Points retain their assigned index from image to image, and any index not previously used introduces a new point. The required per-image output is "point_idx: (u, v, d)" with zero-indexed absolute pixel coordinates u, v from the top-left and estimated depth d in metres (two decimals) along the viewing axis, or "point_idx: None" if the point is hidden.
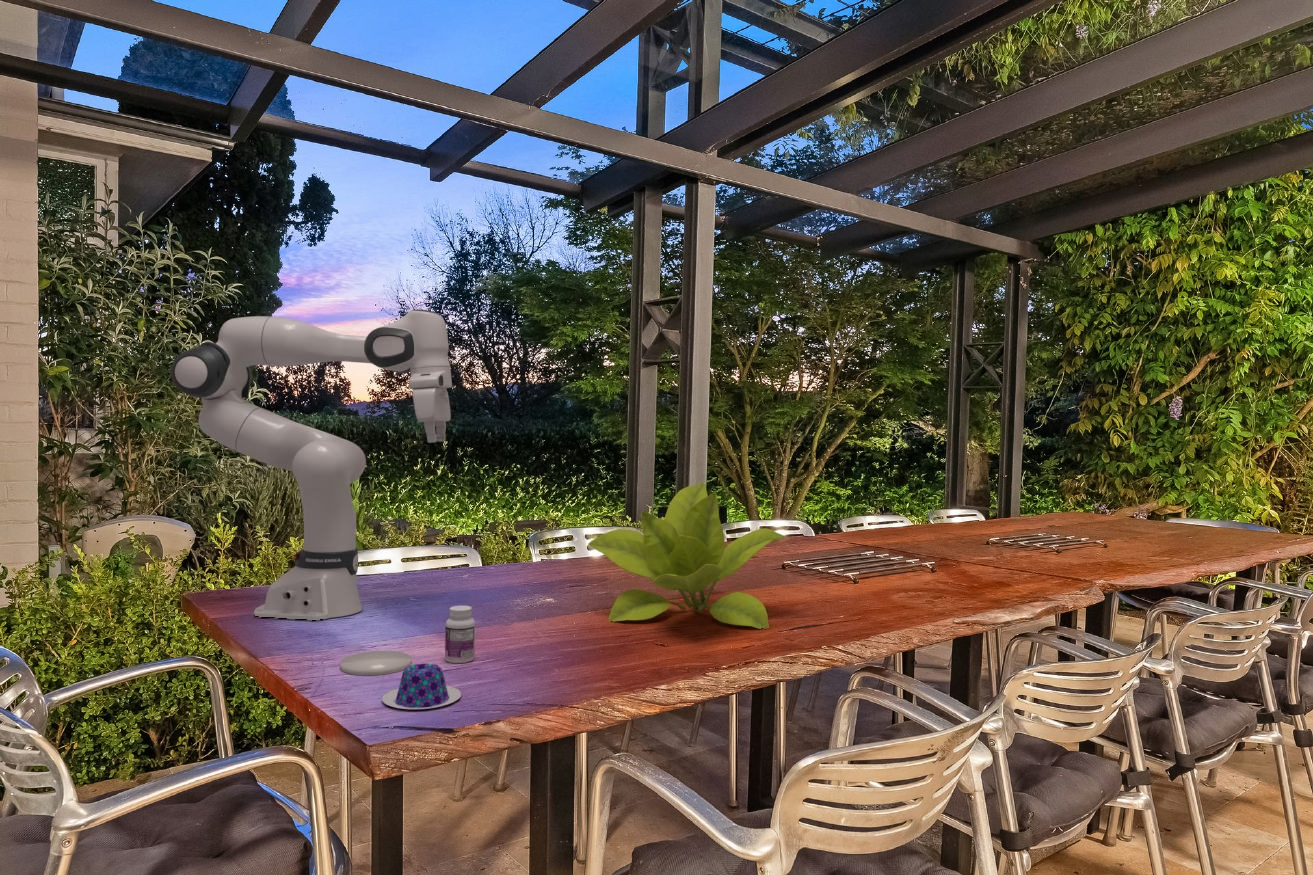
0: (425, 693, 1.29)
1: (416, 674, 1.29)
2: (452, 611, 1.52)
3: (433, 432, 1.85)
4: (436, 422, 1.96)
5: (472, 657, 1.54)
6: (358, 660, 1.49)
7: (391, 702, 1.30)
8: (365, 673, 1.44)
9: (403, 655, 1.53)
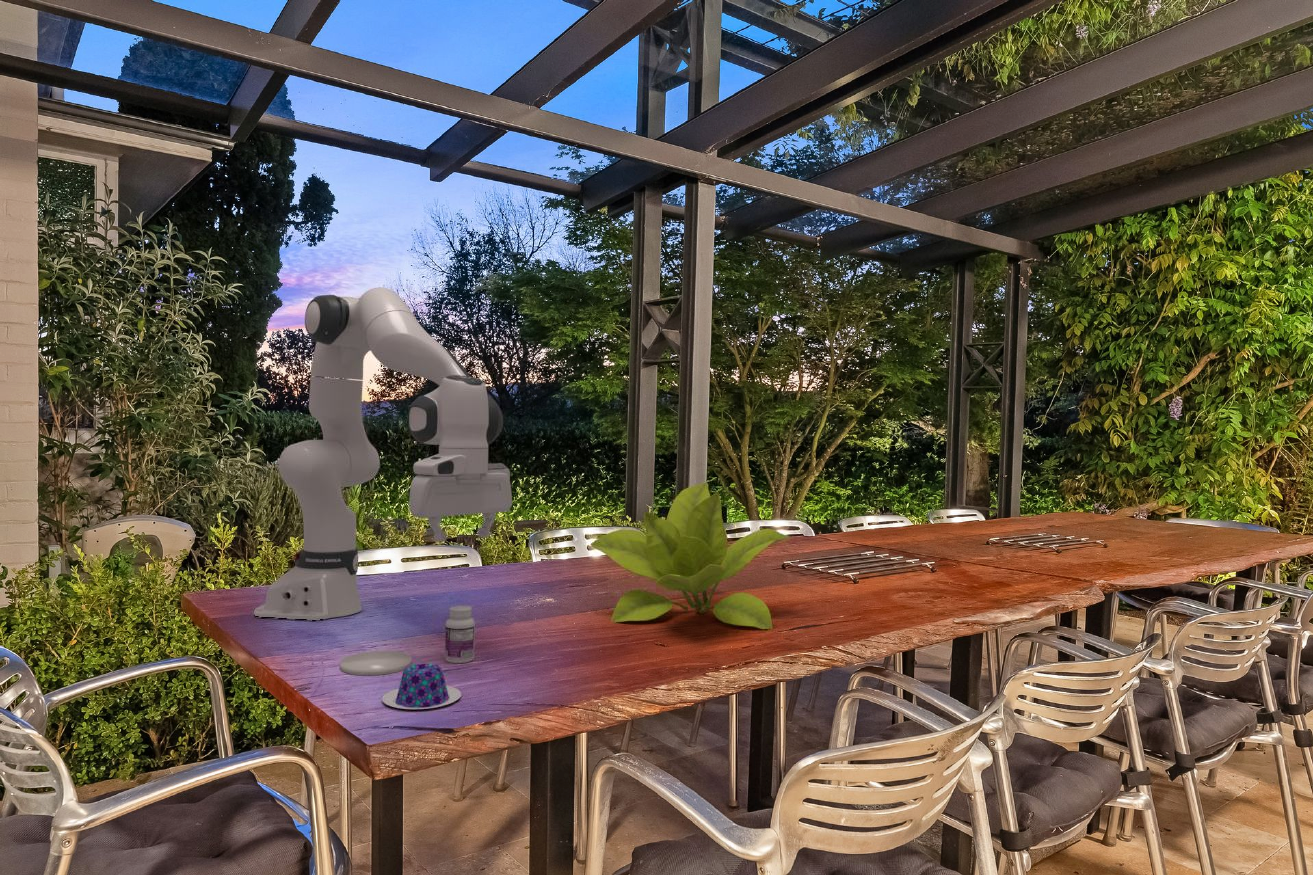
0: (424, 693, 1.29)
1: (416, 674, 1.29)
2: (452, 611, 1.52)
3: (437, 530, 1.49)
4: (483, 512, 1.58)
5: (472, 657, 1.54)
6: (358, 660, 1.49)
7: (391, 702, 1.30)
8: (365, 673, 1.44)
9: (403, 655, 1.53)
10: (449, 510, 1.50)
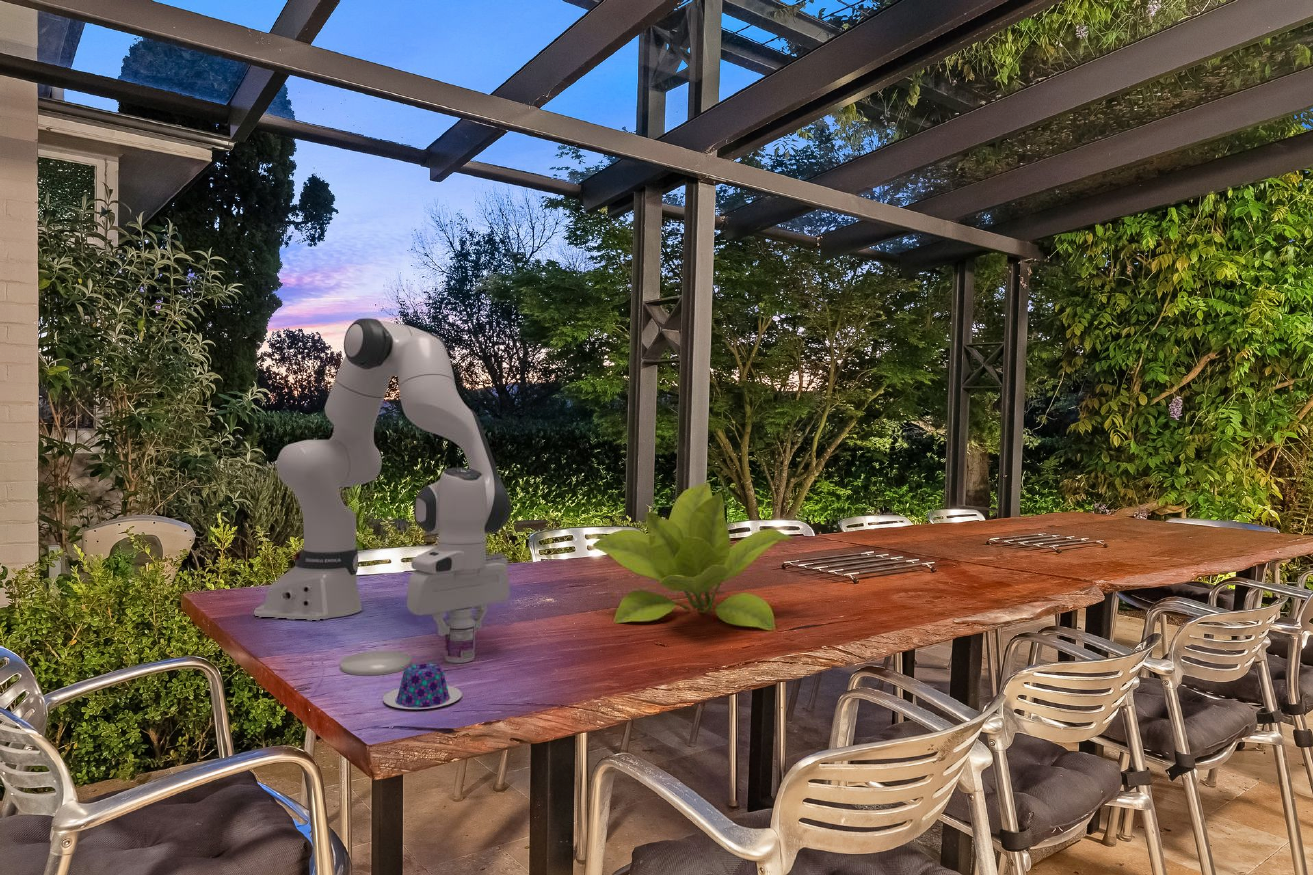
0: (424, 693, 1.29)
1: (416, 674, 1.30)
2: (452, 611, 1.52)
3: (441, 624, 1.50)
4: None
5: (472, 657, 1.54)
6: (358, 660, 1.49)
7: (391, 701, 1.30)
8: (365, 673, 1.44)
9: (403, 655, 1.53)
10: (447, 605, 1.50)
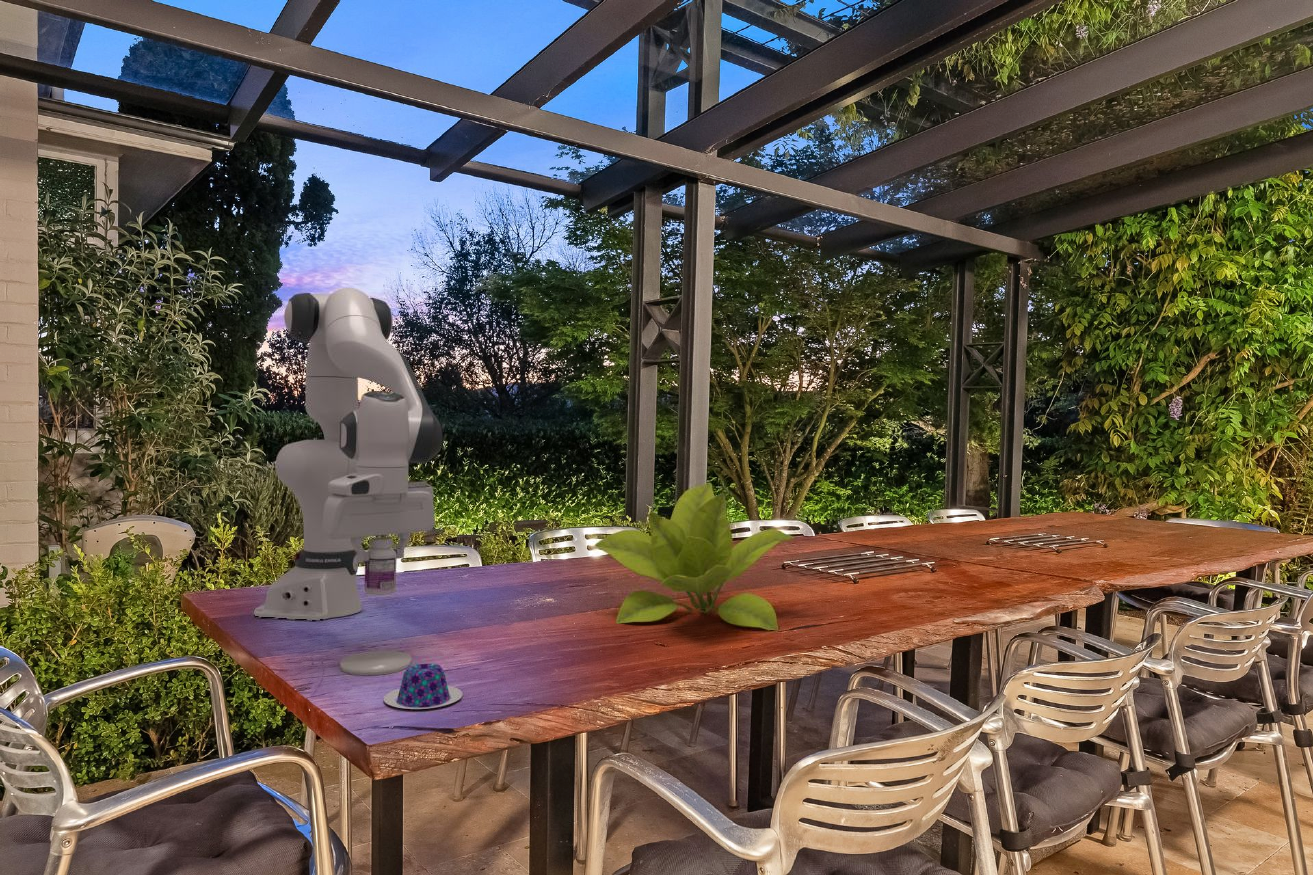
0: (424, 693, 1.29)
1: (416, 674, 1.30)
2: (372, 541, 1.48)
3: (359, 550, 1.46)
4: None
5: (392, 589, 1.49)
6: (358, 660, 1.49)
7: (392, 701, 1.31)
8: (365, 673, 1.44)
9: (403, 655, 1.53)
10: (365, 531, 1.45)
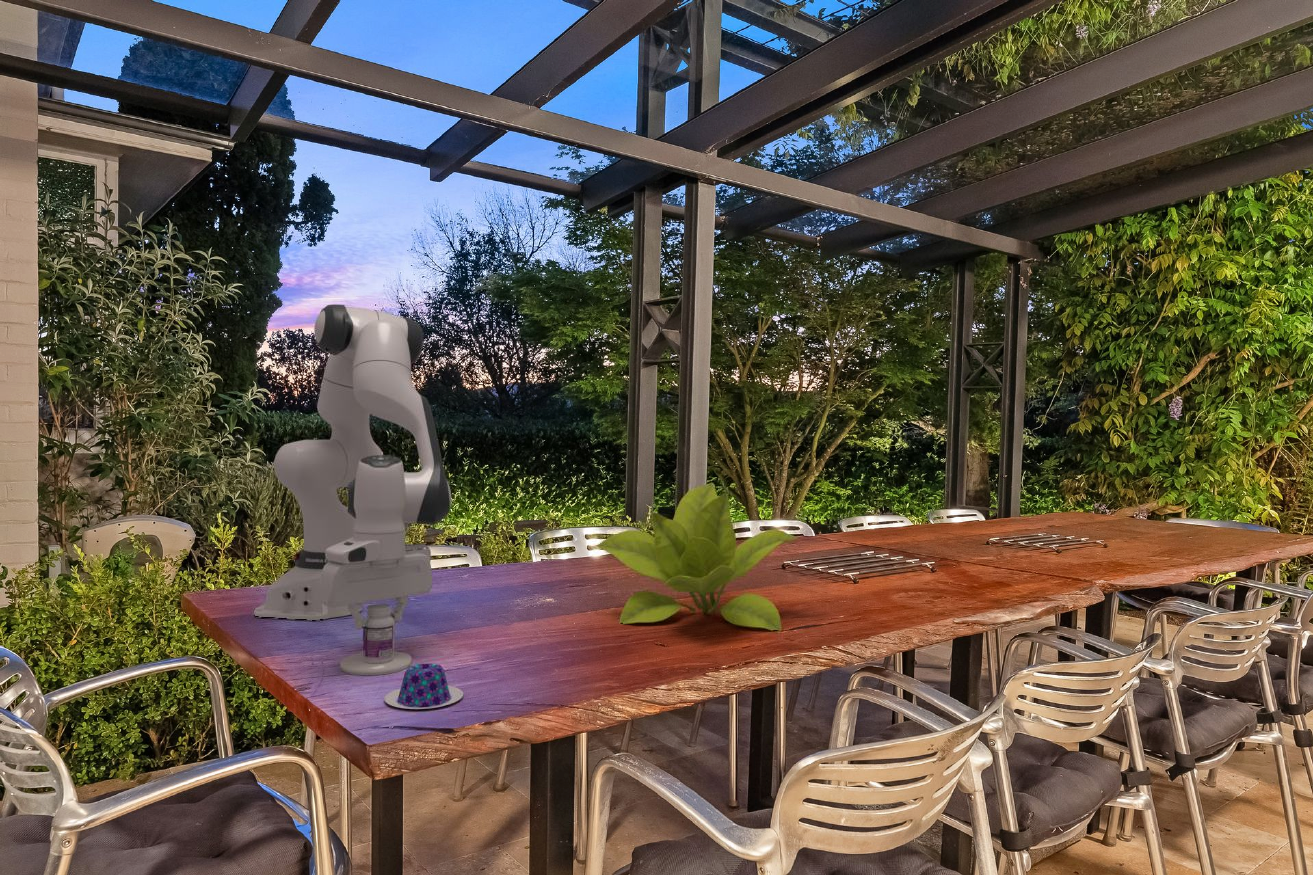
0: (423, 693, 1.29)
1: (416, 674, 1.30)
2: (370, 610, 1.47)
3: (356, 616, 1.46)
4: None
5: (391, 657, 1.49)
6: (358, 660, 1.49)
7: (393, 700, 1.31)
8: (365, 673, 1.44)
9: (403, 655, 1.53)
10: (362, 597, 1.45)
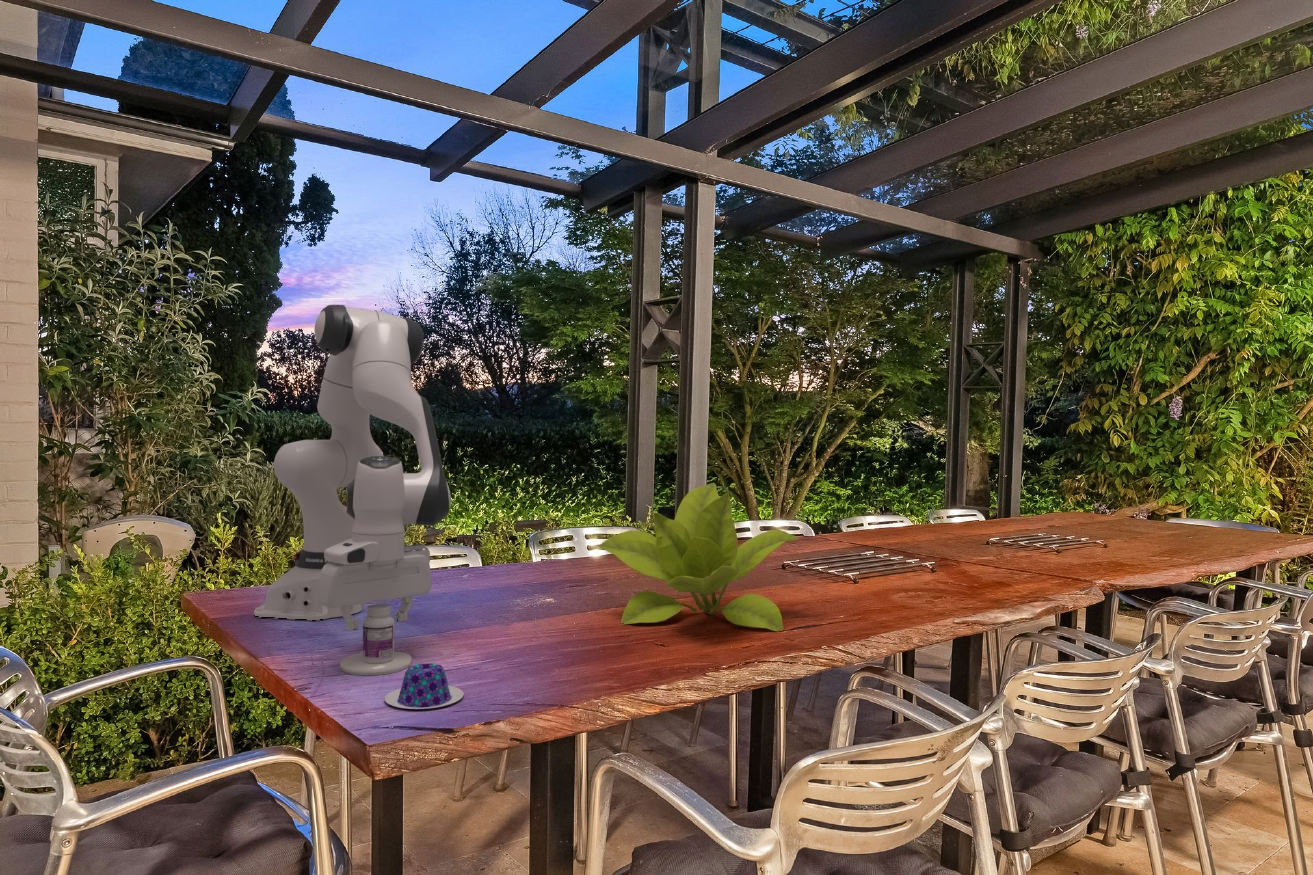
0: (423, 693, 1.29)
1: (416, 674, 1.30)
2: (370, 610, 1.48)
3: (348, 619, 1.45)
4: None
5: (391, 657, 1.49)
6: (358, 660, 1.49)
7: (393, 700, 1.31)
8: (365, 673, 1.44)
9: (403, 655, 1.53)
10: (361, 598, 1.45)
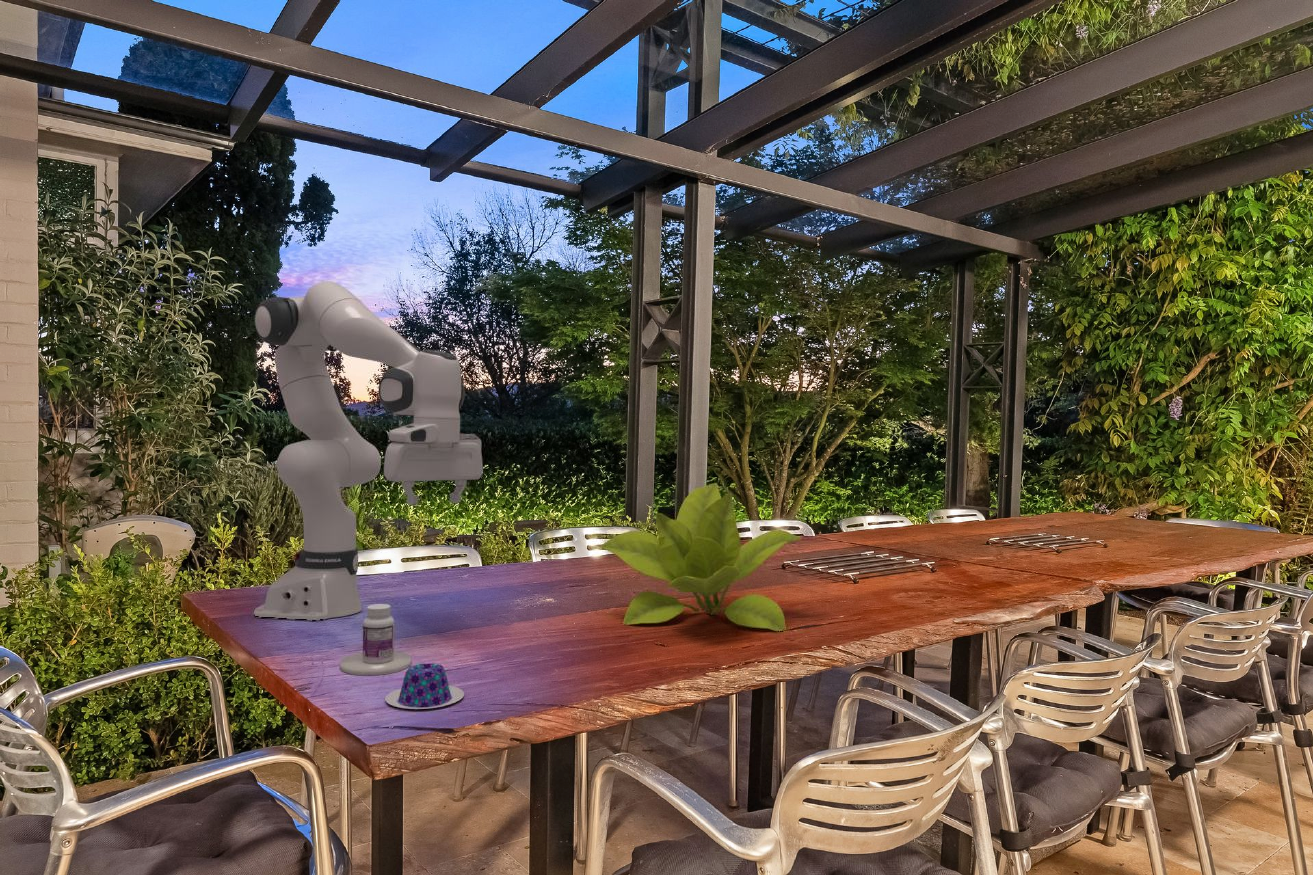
0: (423, 693, 1.29)
1: (416, 673, 1.30)
2: (369, 610, 1.47)
3: (409, 493, 1.60)
4: (455, 479, 1.69)
5: (391, 657, 1.49)
6: (358, 660, 1.49)
7: (394, 700, 1.31)
8: (365, 673, 1.44)
9: (403, 655, 1.53)
10: (421, 475, 1.60)
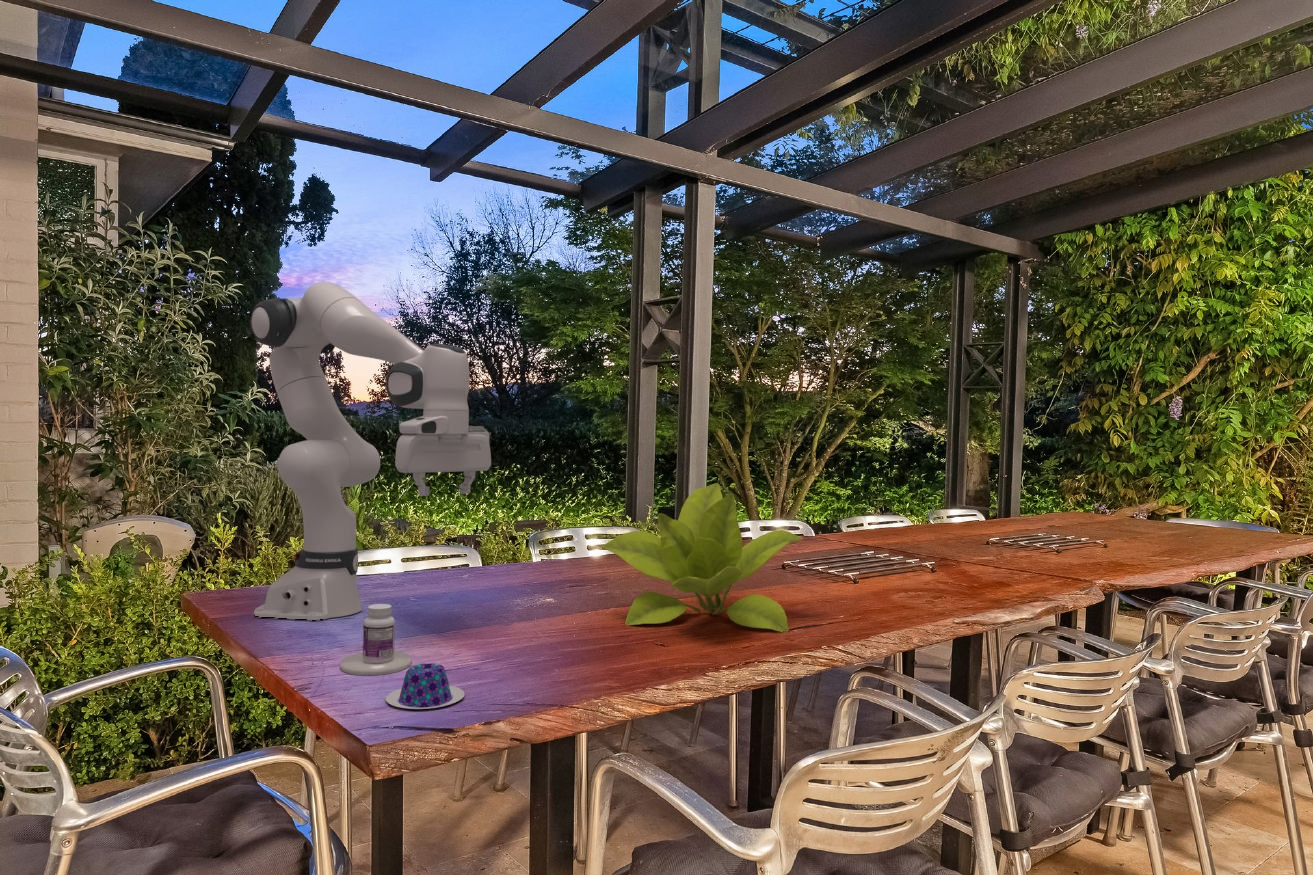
0: (423, 693, 1.29)
1: (416, 673, 1.30)
2: (370, 609, 1.48)
3: (421, 484, 1.63)
4: (464, 471, 1.72)
5: (391, 657, 1.49)
6: (358, 660, 1.49)
7: (394, 699, 1.31)
8: (365, 673, 1.44)
9: (403, 655, 1.53)
10: (432, 467, 1.63)
